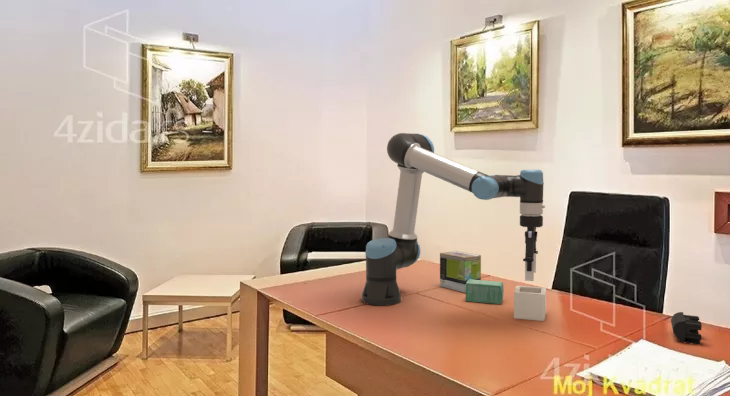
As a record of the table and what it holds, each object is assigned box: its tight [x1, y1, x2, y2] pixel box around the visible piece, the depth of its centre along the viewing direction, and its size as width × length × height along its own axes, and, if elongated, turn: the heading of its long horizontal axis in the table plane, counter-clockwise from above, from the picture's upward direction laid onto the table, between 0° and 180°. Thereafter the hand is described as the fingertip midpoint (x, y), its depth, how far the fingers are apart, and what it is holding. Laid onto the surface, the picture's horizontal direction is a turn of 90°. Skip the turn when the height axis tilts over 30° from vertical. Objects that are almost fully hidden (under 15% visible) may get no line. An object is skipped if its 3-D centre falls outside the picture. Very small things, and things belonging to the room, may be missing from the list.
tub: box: [513, 285, 547, 322], centre depth 182 cm, size 10×10×9 cm
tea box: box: [439, 250, 482, 294], centre depth 221 cm, size 15×10×15 cm
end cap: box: [670, 311, 702, 345], centre depth 158 cm, size 10×7×7 cm
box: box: [465, 279, 505, 305], centre depth 202 cm, size 7×14×8 cm, turn 70°
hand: (530, 276), depth 181 cm, fingers open, 13 cm apart
